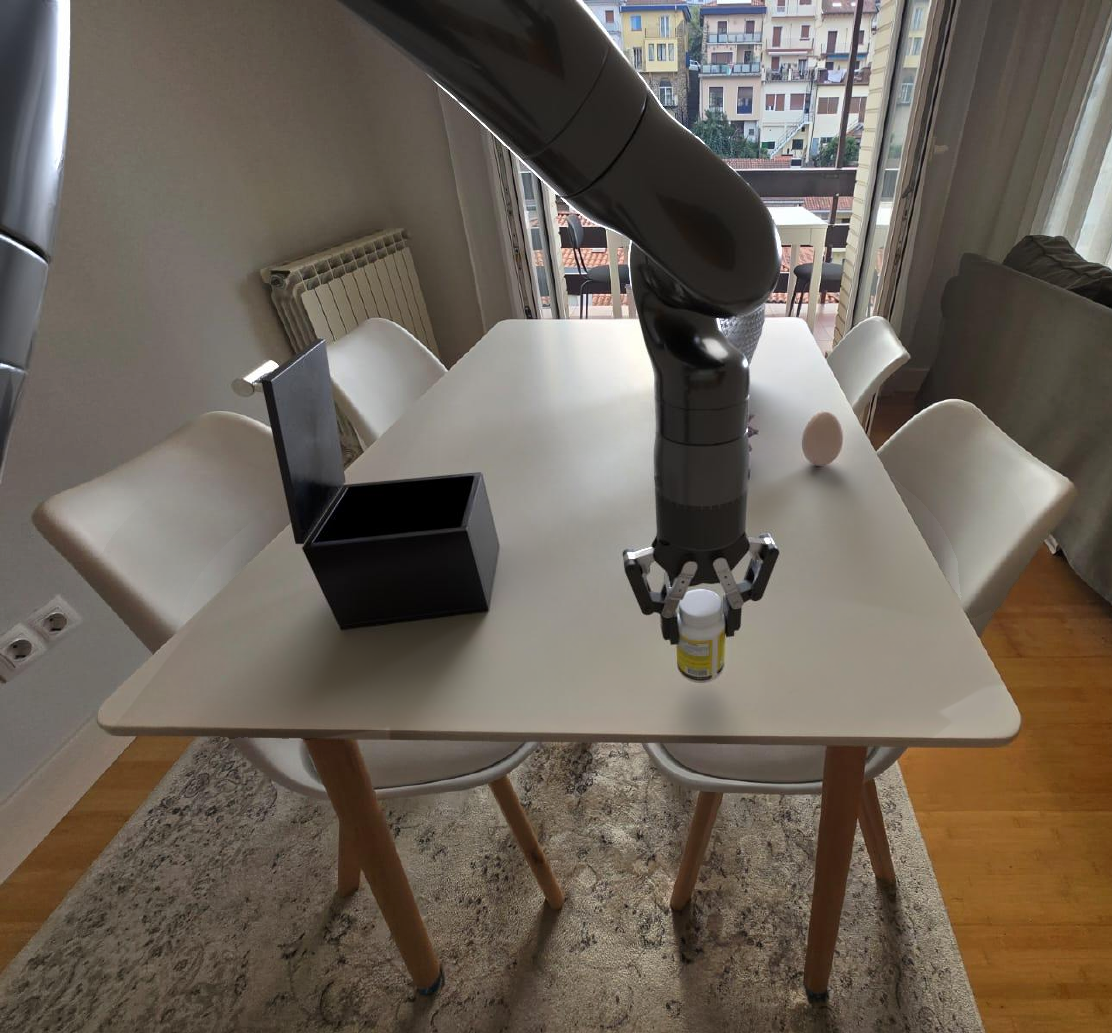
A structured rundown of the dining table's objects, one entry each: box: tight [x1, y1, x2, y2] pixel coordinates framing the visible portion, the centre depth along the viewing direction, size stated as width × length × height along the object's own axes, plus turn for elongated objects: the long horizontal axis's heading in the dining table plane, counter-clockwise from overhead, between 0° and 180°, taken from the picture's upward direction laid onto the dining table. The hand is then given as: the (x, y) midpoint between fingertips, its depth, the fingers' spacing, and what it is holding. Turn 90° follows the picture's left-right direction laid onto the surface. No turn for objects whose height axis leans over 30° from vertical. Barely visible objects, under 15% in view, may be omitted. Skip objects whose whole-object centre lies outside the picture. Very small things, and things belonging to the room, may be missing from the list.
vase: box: [719, 302, 766, 366], centre depth 124 cm, size 22×22×35 cm
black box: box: [301, 471, 501, 631], centre depth 69 cm, size 17×14×12 cm
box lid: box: [230, 338, 347, 545], centre depth 59 cm, size 18×14×5 cm
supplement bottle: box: [675, 588, 726, 684], centre depth 54 cm, size 5×5×8 cm
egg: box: [801, 410, 844, 467], centre depth 96 cm, size 7×7×10 cm
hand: (700, 634), depth 54 cm, fingers closed on supplement bottle, 4 cm apart
